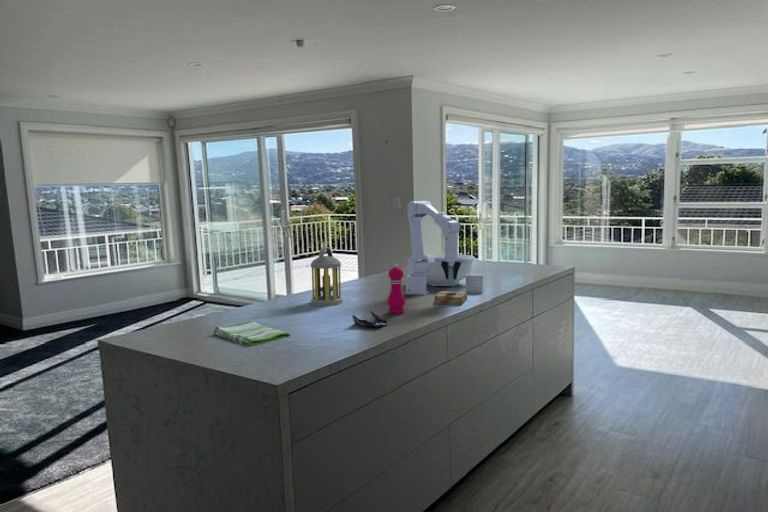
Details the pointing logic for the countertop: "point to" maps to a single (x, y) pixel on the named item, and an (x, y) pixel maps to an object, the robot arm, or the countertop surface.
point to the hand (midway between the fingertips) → (451, 279)
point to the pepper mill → (396, 291)
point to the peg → (451, 275)
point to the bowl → (437, 273)
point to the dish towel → (249, 333)
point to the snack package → (369, 323)
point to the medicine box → (474, 283)
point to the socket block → (450, 297)
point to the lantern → (326, 279)
